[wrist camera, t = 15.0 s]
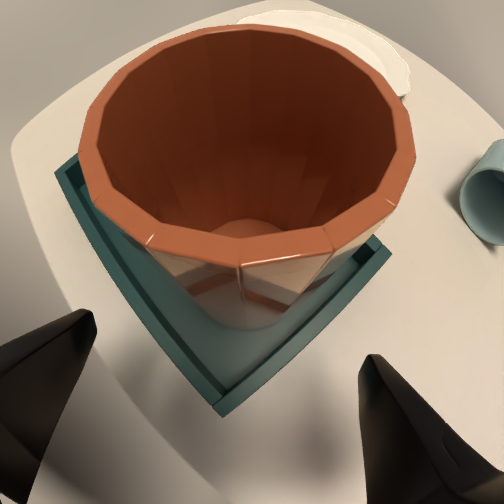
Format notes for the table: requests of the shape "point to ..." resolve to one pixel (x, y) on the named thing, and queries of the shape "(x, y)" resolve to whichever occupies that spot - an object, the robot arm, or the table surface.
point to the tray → (201, 325)
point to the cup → (486, 196)
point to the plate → (344, 41)
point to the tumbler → (247, 164)
